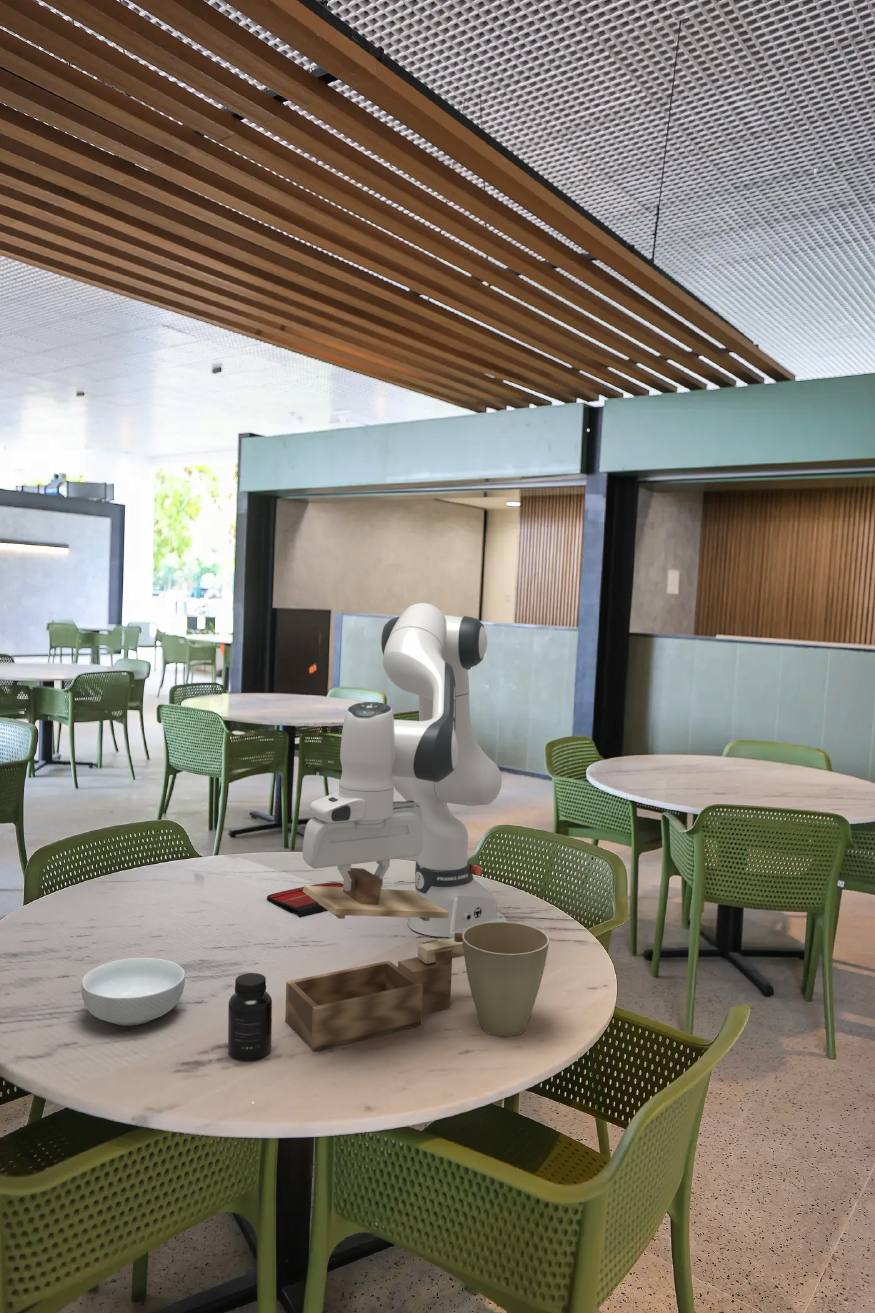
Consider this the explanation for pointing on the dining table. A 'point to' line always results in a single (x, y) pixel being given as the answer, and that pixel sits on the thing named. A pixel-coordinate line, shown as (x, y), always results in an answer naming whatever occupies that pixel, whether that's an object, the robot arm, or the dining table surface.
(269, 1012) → the supplement bottle
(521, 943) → the plant pot
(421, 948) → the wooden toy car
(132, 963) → the cereal bowl
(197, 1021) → the dining table surface
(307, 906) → the binder
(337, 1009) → the open wooden box
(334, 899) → the lid
